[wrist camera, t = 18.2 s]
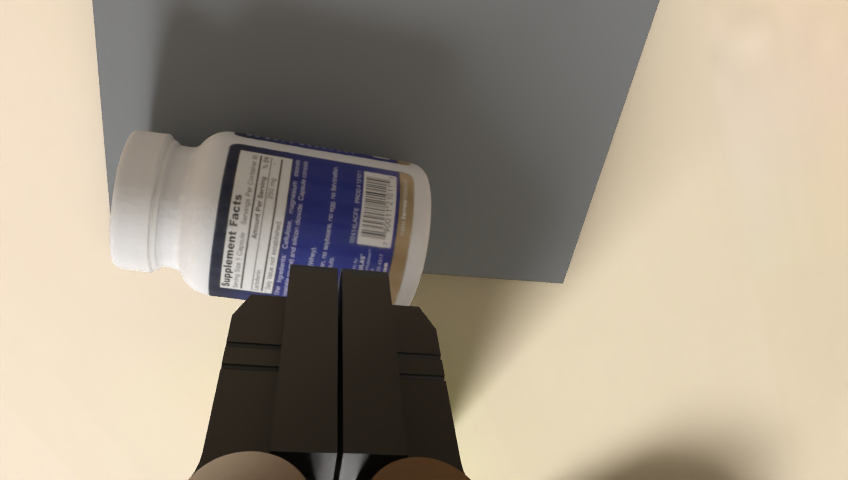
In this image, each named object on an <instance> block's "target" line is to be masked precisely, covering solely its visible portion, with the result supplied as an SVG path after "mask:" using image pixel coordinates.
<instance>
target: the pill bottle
mask: <svg viewBox="0 0 848 480" xmlns="http://www.w3.org/2000/svg"><path fill="white" fill-rule="evenodd" d="M430 223H431V191H430V185H429V181H428V178H427V175H426V174H425V172H424V171H423V169H422V168H420V167H419V166H418V165H415V164H412V163H408V162H404V161H399V160H393V159H387V158H382V157H376V156H371V155H365V154H359V153H353V152H347V151H341V150H336V149H330V148H324V147H318V146H313V145H307V144H301V143H295V142H289V141H284V140H278V139H273V138H267V137H262V136H256V135H250V134H244V133H238V132H228V131H227V132H219V133H216V134H214V135H212V136H210V137H209V138H207V139H206V140H205V141H204V142H203V143H202V144H201V145H200V146H198V147H187V146H182V145H180V144H179V142H178V141H176V140H175V139H174V138H173V136H172V135H171V134H165V133H156V132H150V131H143V130H135V131H133V132H132V133H131V134H130V136H129V137H128V139H127V141H126V144H125V146H124V149H123V151H122V154H121V157H120V161H119V165H118V168H117V173H116V179H115V185H114V191H113V198H112V206H111V215H110V251H111V258H112V261H113V263H114V265H115V266H116V267H118V268H122V269H128V270H134V271H142V272H150V273H152V272H153V271H154V270H158V269H160V268H161V267H170V268H175V269H177V270H178V271H179V272H180V273H181V275H182V277H183V279H184V280H185V282H186V283H187V284H188V285H189V286H190V287H191V288H192V289H194V290H195V291H197V292H199V293H202V294H207V295H210V296H218V297H227V298H234V299H242V300H247V299H248V298H249V296H250V295H251V294H256V295H269V296H282V297H287V291H288V282H289V273H290V264H296V265H307V266H319V267H331V268H338V283H339V276H340V271H341V268H344V269H356V270H368V271H379V272H388V275H389V282H390V291H391V300H392V305H402V306H409V305H410V304H411V302H412V300H413V298H414V296H415V294H416V291H417V288H418V285H419V282H420V279H421V275H422V272H423V267H424V263H425V258H426V254H427V247H428V241H429V233H430Z"/></svg>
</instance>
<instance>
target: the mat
mask: <svg viewBox="0 0 848 480" xmlns="http://www.w3.org/2000/svg"><path fill="white" fill-rule="evenodd" d="M92 1H93V13H94V25H95V37H96V49H97V61H98V73H99V85H100V96H101V108H102V120H103V132H104V144H105V156H106V168H107V180H108V192H109V204H110V215H111V206H112V198H113V191H114V185H115V179H116V173H117V168H118V165H119V161H120V157H121V154H122V151H123V149H124V146H125V144H126V141H127V139H128V137H129V136H130V134H131V133H132V132H133V131H135V130H143V131H150V132H156V133H165V134H171V135H172V136H173V138H174V139H175V140H176V141H178V142H179V144H180V145H182V146H187V147H198V146H200V145H201V144H202V143H203V142H204V141H205V140H206V139H207V138H209V137H210V136H212V135H214V134H216V133H219V132H227V131H228V132H238V133H244V134H250V135H256V136H262V137H267V138H273V139H278V140H284V141H289V142H295V143H301V144H307V145H313V146H318V147H324V148H330V149H336V150H341V151H347V152H353V153H359V154H365V155H371V156H376V157H382V158H387V159H393V160H399V161H404V162H408V163H412V164H415V165H418V166H419V167H420V168H422V169H423V171H424V172H425V174H426V175H427V178H428V181H429V185H430V191H431V223H430V233H429V241H428V247H427V254H426V258H425V263H424V267H423V272H422V273H428V274H442V275H456V276H469V277H483V278H496V279H510V280H523V281H537V282H551V283H563V282H564V279H565V276H566V273H567V270H568V267H569V264H570V261H571V258H572V255H573V252H574V249H575V247H576V244H577V241H578V238H579V235H580V232H581V229H582V226H583V223H584V220H585V217H586V214H587V211H588V208H589V206H590V203H591V200H592V197H593V194H594V191H595V188H596V185H597V182H598V179H599V176H600V173H601V170H602V167H603V165H604V162H605V159H606V156H607V153H608V150H609V147H610V144H611V141H612V138H613V135H614V132H615V129H616V126H617V123H618V121H619V118H620V115H621V112H622V109H623V106H624V103H625V100H626V97H627V94H628V91H629V88H630V85H631V82H632V80H633V77H634V74H635V71H636V68H637V65H638V62H639V59H640V56H641V53H642V50H643V47H644V44H645V41H646V39H647V36H648V33H649V30H650V27H651V24H652V21H653V18H654V15H655V12H656V9H657V6H658V3H659V0H92Z"/></svg>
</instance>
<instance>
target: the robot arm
mask: <svg viewBox="0 0 848 480" xmlns="http://www.w3.org/2000/svg"><path fill="white" fill-rule="evenodd" d="M440 356H441V354H440V348H439V343H438V338H437V332H436V329H435V328H434V326H433V325H432V324H431V322H430V321H429V320H428V318H427V317H426V316H425V314H424V313H423V312H422V310H421V309H420V308H419V307H415V306H402V305H392V300H391V291H390V282H389V275H388V272H379V271H368V270H356V269H344V268H341V271H340V276H339V283H338V268H331V267H319V266H307V265H296V264H290V273H289V282H288V291H287V297H282V296H269V295H256V294H251V295H250V296H249V298H248V299H247V300H246V301H245V302H244V303H243V304H242V305H241V306H240V307H239V308H238V310H237V311H236V312H235V313H234V314H233V315H232V319H231V323H230V328H229V333H228V337H227V343H226V347H225V351H224V356H223V360H222V367H221V370H220V374H219V379H218V383H217V388H216V393H215V397H214V402H213V407H212V411H211V416H210V420H209V425H208V430H207V434H206V439H205V444H204V448H203V453H202V456H201V459H200V462H199V464H198V466H197V468H196V470H195V472H194V473H193V475H192V476H191V477H190V478H189V480H470V479H469V478H468V477H467V476H466V475H465V473H464V471H463V468H462V464H461V460H460V455H459V450H458V444H457V439H456V434H455V428H454V423H453V418H452V412H451V407H450V402H449V396H448V391H447V386H446V381H444V376H445V375H444V370H443V364H442V360H440Z"/></svg>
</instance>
